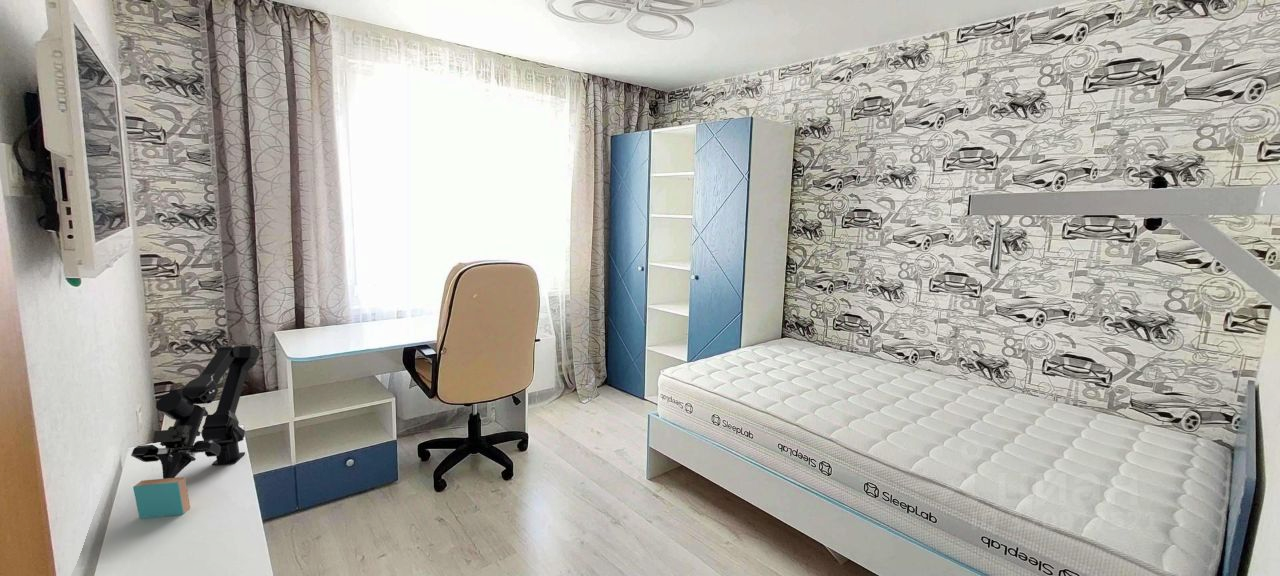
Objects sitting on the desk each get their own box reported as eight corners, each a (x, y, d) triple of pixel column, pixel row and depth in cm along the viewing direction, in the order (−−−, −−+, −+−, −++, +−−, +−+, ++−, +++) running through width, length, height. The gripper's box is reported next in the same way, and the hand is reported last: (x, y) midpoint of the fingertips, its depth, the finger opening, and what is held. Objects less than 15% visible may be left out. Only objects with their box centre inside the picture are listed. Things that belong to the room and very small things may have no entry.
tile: (147, 511, 141) (141, 480, 139) (190, 507, 143) (184, 476, 141) (139, 518, 138) (133, 486, 136) (183, 514, 140) (177, 482, 138)
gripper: (129, 418, 142) (104, 477, 133) (208, 412, 145) (188, 470, 136) (155, 433, 151) (133, 489, 142) (229, 427, 154) (211, 482, 145)
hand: (166, 482), depth 141 cm, fingers closed
